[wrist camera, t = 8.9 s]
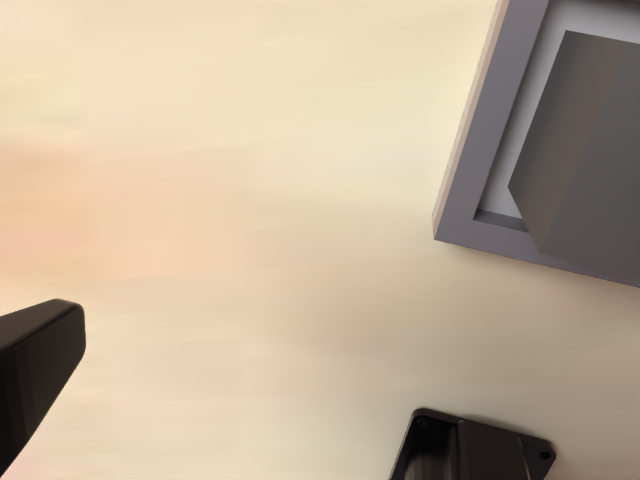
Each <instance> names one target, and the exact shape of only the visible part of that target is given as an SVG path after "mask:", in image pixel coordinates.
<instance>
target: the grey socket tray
mask: <svg viewBox="0 0 640 480" xmlns="http://www.w3.org/2000/svg"><path fill="white" fill-rule="evenodd" d="M566 30H569V31H574V32H580V33H585V34H590V35H596V36H601V37H606V38H612V39H617V40H622V41H627V42H633V43H638V44H640V0H498V2H497V5H496V9H495V12H494V15H493V18H492V22H491V25H490V28H489V31H488V35H487V38H486V41H485V45H484V48H483V51H482V54H481V58H480V61H479V64H478V67H477V71H476V74H475V77H474V80H473V84H472V87H471V90H470V94H469V97H468V100H467V103H466V107H465V110H464V113H463V116H462V120H461V123H460V126H459V129H458V133H457V136H456V139H455V143H454V146H453V149H452V152H451V156H450V159H449V162H448V165H447V169H446V172H445V175H444V178H443V182H442V185H441V188H440V192H439V195H438V198H437V201H436V205H435V208H434V211H433V214H432V217H433V232H434V240H438V241H442V242H446V243H451V244H455V245H459V246H463V247H468V248H472V249H476V250H480V251H485V252H489V253H493V254H498V255H502V256H506V257H510V258H515V259H519V260H523V261H527V262H532V263H536V264H540V265H544V266H549V267H553V268H557V269H562V270H566V271H570V272H574V273H579V274H583V275H587V276H591V277H596V278H600V279H604V280H608V281H613V282H617V283H621V284H626V285H630V286H634V287H638V288H640V276H636V275H632V274H627V273H623V272H619V271H615V270H610V269H606V268H602V267H597V266H593V265H589V264H584V263H580V262H576V261H572V260H567V259H563V258H559V257H554V256H550V255H546V254H541V253H539V251H538V249H537V247H536V245H535V243H534V241H533V239H532V237H531V235H530V233H529V231H528V228H527V226H526V224H525V222H524V220H523V218H522V216H521V214H520V212H519V210H518V208H517V206H516V204H515V202H514V200H513V197H512V195H511V193H510V191H509V189H508V187H507V186H508V184H509V181H510V178H511V176H512V173H513V170H514V168H515V165H516V162H517V159H518V157H519V154H520V151H521V149H522V146H523V143H524V141H525V138H526V135H527V133H528V130H529V127H530V125H531V122H532V119H533V116H534V114H535V111H536V108H537V106H538V103H539V100H540V98H541V95H542V92H543V90H544V87H545V84H546V82H547V79H548V76H549V74H550V71H551V68H552V65H553V63H554V60H555V57H556V55H557V52H558V49H559V47H560V44H561V41H562V39H563V36H564V33H565V31H566Z"/></svg>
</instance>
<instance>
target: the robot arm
mask: <svg viewBox="0 0 640 480" xmlns="http://www.w3.org/2000/svg"><path fill="white" fill-rule="evenodd" d="M85 348H86V333H85V315H84V309H83V307H82V306H81V305H80V304H78V303H74V302H71V301H67V300H63V299H52V300H49V301H46V302H43V303H40V304H37V305H34V306H31V307H28V308H25V309H21V310H18V311H15V312H12V313H9V314H6V315H3V316H0V478H1V476H2V475H3V474H4V473H5V471H6V470H7V469H8V468H9V466H10V465H11V464H12V463H13V461H14V460H15V459H16V457H17V456H18V455H19V453H20V452H21V451H22V449H23V448H24V447H25V446H26V444H27V443H28V441H29V440H30V438H31V437H32V436H33V434H34V433H35V431H36V430H37V428H38V427H39V425H40V423H41V422H42V420H43V419H44V417H45V416H46V414H47V413H48V411H49V409H50V408H51V406H52V405H53V403H54V402H55V400H56V398H57V397H58V395H59V394H60V392H61V391H62V389H63V388H64V386H65V384H66V383H67V381H68V380H69V378H70V377H71V375H72V373H73V372H74V370H75V369H76V367H77V366H78V364H79V363H80V361H81V359H82V357H83V355H84V352H85ZM420 419H425V421H421V420H420ZM543 451H545V452H543ZM555 459H556V453H555V449H554V446H553V444H551V443H550V442H548V441H545V440H542V439H538V438H534V437H530V436H526V435H523V434H519V433H515V432H511V431H507V430H504V429H500V428H496V427H492V426H488V425H484V424H481V423H477V422H473V421H469V420H465V419H462V418H458V417H454V416H450V415H446V414H443V413H439V412H435V411H431V410H427V409H417V410H415V411H414V412H413V413H412V415H411V418H410V421H409V424H408V427H407V429H406V432H405V435H404V438H403V440H402V443H401V446H400V449H399V452H398V454H397V457H396V460H395V463H394V466H393V468H392V471H391V474H390V477H389V480H543V479H544V478H545V476H546V474H547V473H548V471H549V469H550V467H551V466H552V464H553V462H554V460H555Z"/></svg>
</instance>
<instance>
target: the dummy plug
mask: <svg viewBox="0 0 640 480" xmlns="http://www.w3.org/2000/svg"><path fill="white" fill-rule="evenodd" d="M507 187H508V189H509V191H510V193H511V195H512V197H513V200H514V202H515V204H516V206H517V208H518V210H519V212H520V214H521V216H522V218H523V220H524V222H525V224H526V226H527V228H528V231H529V233H530V235H531V237H532V239H533V241H534V243H535V245H536V247H537V249H538V251H539V253H541V254H546V255H550V256H554V257H559V258H563V259H567V260H572V261H576V262H580V263H584V264H589V265H593V266H597V267H602V268H606V269H610V270H615V271H619V272H623V273H627V274H632V275H636V276H640V44H638V43H633V42H627V41H622V40H617V39H612V38H606V37H601V36H596V35H590V34H585V33H580V32H574V31H569V30H566V31H565V33H564V36H563V39H562V41H561V44H560V47H559V49H558V52H557V55H556V57H555V60H554V63H553V65H552V68H551V71H550V74H549V76H548V79H547V82H546V84H545V87H544V90H543V92H542V95H541V98H540V100H539V103H538V106H537V108H536V111H535V114H534V116H533V119H532V122H531V125H530V127H529V130H528V133H527V135H526V138H525V141H524V143H523V146H522V149H521V151H520V154H519V157H518V159H517V162H516V165H515V168H514V170H513V173H512V176H511V178H510V181H509V184H508V186H507Z"/></svg>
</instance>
